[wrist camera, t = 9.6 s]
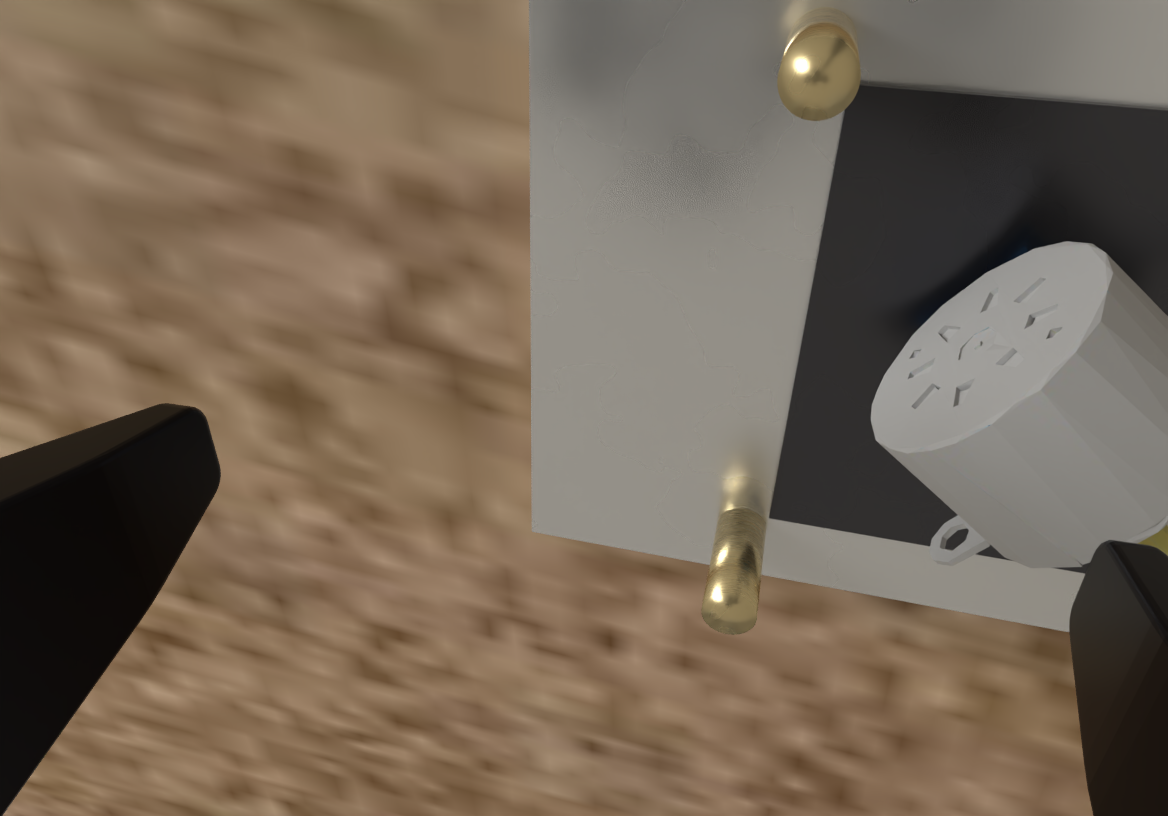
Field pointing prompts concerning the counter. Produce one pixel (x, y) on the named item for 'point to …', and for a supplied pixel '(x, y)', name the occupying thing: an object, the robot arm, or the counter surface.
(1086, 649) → the robot arm
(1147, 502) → the electric motor
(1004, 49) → the chassis plate
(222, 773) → the counter surface
